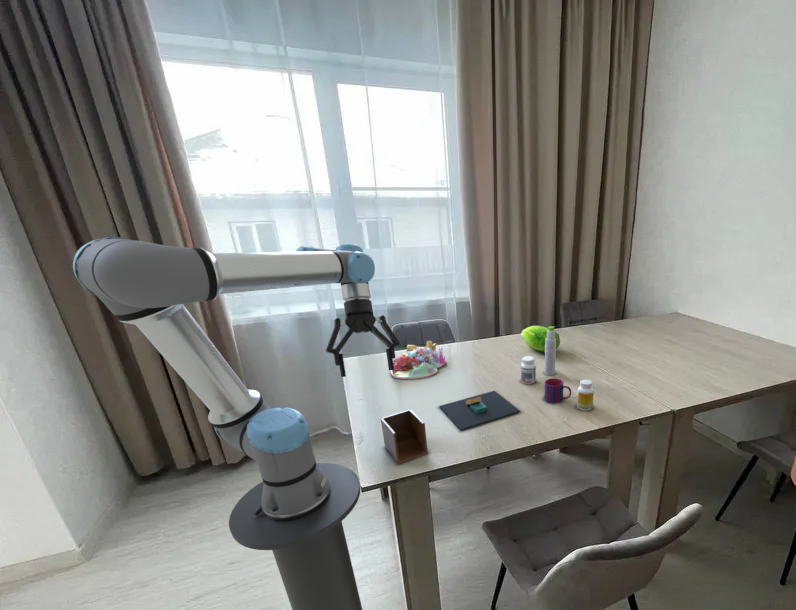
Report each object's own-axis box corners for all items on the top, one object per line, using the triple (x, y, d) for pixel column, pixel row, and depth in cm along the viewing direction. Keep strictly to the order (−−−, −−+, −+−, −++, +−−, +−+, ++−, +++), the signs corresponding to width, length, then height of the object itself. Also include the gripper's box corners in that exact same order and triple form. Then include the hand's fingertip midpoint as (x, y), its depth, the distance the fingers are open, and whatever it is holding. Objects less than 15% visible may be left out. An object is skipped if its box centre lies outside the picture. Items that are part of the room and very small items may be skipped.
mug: (551, 393, 149) (551, 376, 146) (574, 401, 143) (575, 383, 140) (540, 399, 144) (541, 382, 141) (564, 408, 138) (564, 390, 135)
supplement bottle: (594, 410, 136) (596, 384, 132) (578, 411, 136) (580, 385, 132) (590, 403, 141) (592, 378, 137) (575, 403, 141) (576, 378, 137)
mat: (461, 430, 125) (460, 429, 125) (439, 407, 139) (439, 405, 139) (519, 412, 136) (519, 410, 135) (494, 392, 150) (494, 390, 150)
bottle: (556, 374, 164) (558, 328, 156) (546, 375, 163) (548, 329, 155) (552, 370, 168) (554, 324, 160) (542, 371, 167) (543, 326, 159)
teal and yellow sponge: (476, 410, 133) (476, 413, 134) (487, 406, 135) (487, 410, 136) (470, 404, 137) (470, 407, 138) (480, 401, 139) (480, 404, 140)
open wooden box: (385, 447, 117) (380, 418, 113) (413, 437, 122) (410, 409, 118) (398, 464, 110) (393, 433, 106) (428, 453, 115) (424, 423, 111)
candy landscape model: (389, 360, 180) (386, 340, 177) (441, 353, 187) (439, 335, 183) (391, 382, 159) (388, 360, 155) (450, 374, 165) (449, 353, 162)
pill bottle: (528, 377, 162) (528, 354, 158) (538, 381, 158) (538, 358, 154) (518, 381, 158) (518, 358, 154) (528, 385, 154) (528, 362, 151)
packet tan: (470, 399, 135) (471, 403, 135) (480, 396, 137) (481, 400, 137) (465, 401, 140) (466, 405, 139) (475, 398, 141) (476, 402, 141)
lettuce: (533, 341, 202) (533, 319, 197) (567, 353, 186) (568, 329, 181) (514, 347, 194) (514, 324, 190) (547, 360, 178) (548, 335, 174)
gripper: (396, 300, 124) (405, 368, 125) (307, 304, 111) (319, 380, 112) (403, 296, 118) (413, 367, 119) (311, 300, 105) (323, 379, 106)
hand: (368, 373), depth 116 cm, fingers open, 13 cm apart
